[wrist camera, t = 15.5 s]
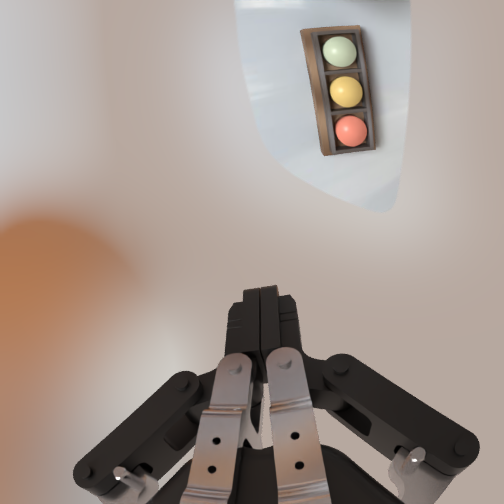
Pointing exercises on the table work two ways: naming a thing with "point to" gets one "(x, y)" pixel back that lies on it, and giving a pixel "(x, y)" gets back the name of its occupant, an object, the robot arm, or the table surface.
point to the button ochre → (345, 91)
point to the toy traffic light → (320, 81)
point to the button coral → (350, 130)
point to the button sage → (339, 51)
